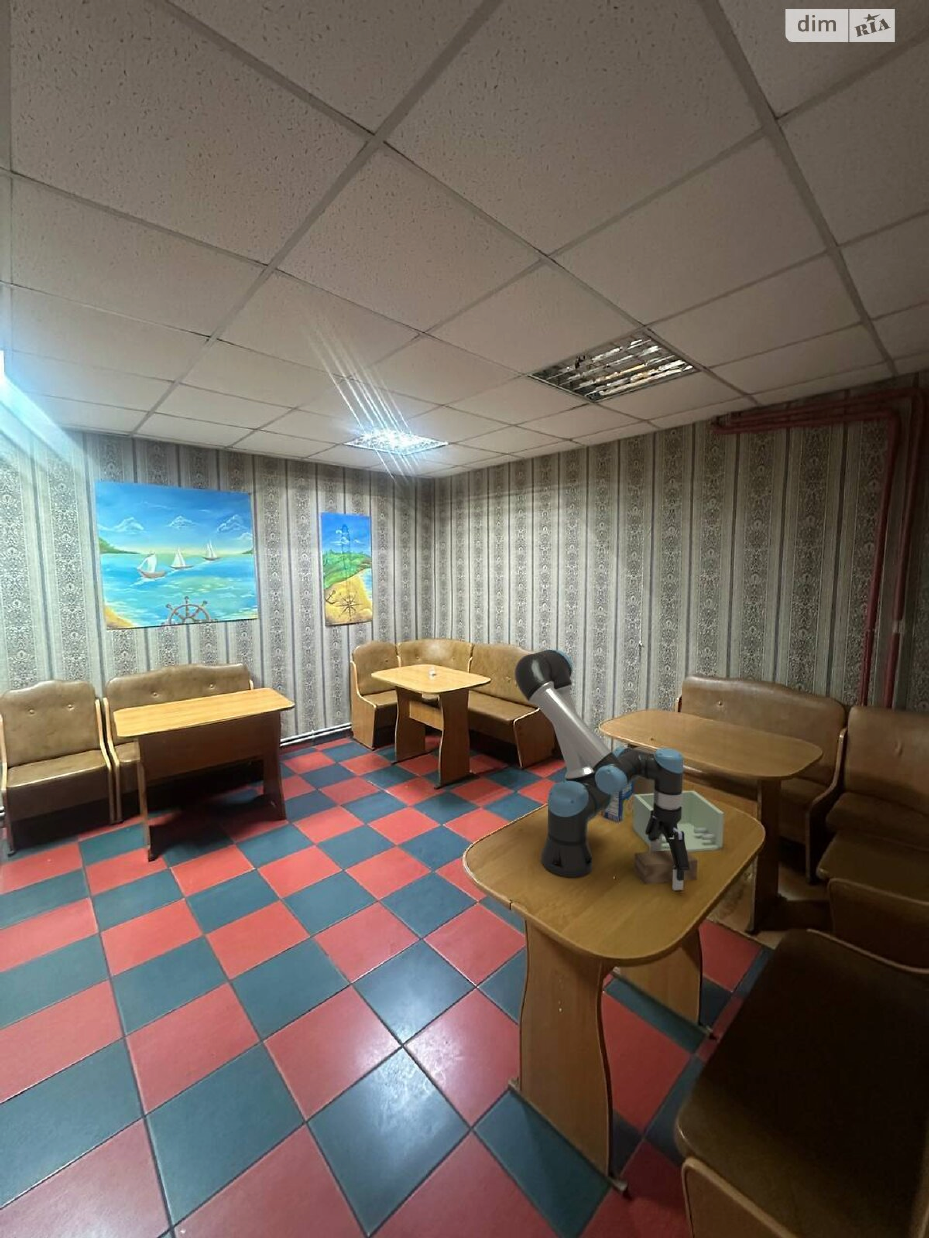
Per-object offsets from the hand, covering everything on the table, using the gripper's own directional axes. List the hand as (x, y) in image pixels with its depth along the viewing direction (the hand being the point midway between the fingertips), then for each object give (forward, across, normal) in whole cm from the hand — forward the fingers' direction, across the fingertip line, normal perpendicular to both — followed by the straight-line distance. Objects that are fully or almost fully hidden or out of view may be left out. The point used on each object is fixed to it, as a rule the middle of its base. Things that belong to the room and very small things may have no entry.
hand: (665, 874), depth 144 cm
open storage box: (0, +18, -14) cm, 23 cm away
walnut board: (0, 0, 0) cm, 0 cm away
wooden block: (0, +43, -15) cm, 46 cm away
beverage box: (0, +36, -2) cm, 36 cm away
